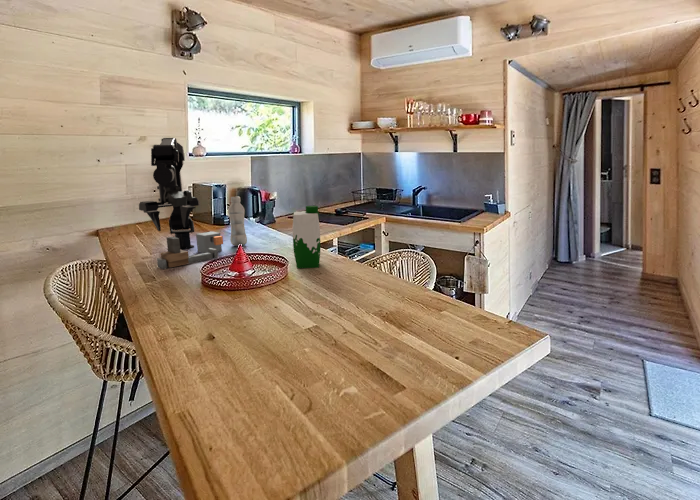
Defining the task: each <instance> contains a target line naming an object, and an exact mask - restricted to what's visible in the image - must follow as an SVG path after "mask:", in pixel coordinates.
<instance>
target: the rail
mask: <svg viewBox="0 0 700 500" xmlns="http://www.w3.org/2000/svg"><path fill="white" fill-rule="evenodd" d="M208 251H209V252H207V253H198V254H192V255H188V256H189V258H188V262H189V264H192V263H193V264H194V263H197V262H198V263H199V262H202V261H207V260H211V259H218V258H219V257H218V251H217V249H213V248H209V249H208ZM156 264H157V268H158V269H161V270H167V269H168V268H169V267H168V262H167V261H166V259H162V258H161V257H158V258H156ZM169 269H170V268H169Z"/></svg>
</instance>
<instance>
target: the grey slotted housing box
mask: <svg viewBox="0 0 700 500" xmlns="http://www.w3.org/2000/svg"><path fill="white" fill-rule="evenodd" d="M195 236H196V246H197V252H198V253H200V254H202V253H207V252H209V251H208V249H209V248H213V249H217V252H222V251H223V249H222V244H221V245H214V242H212V241H211V239H210V237H217V236H222V235H221V233H220V232H218V231H208V232H207V231H206V232H200V233H199V232H198V233H195Z"/></svg>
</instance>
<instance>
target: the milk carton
mask: <svg viewBox="0 0 700 500" xmlns="http://www.w3.org/2000/svg"><path fill="white" fill-rule="evenodd" d="M319 216H320V213H319V206H318V205H307V206H305V210H303V211H302V210H301V211H294V212H293V218H292V247H293V254H294V261H295V264H296V268H297V269H317V268H318V269H319V268H320V260H321V226H320V221H319V218H320V217H319Z"/></svg>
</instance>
